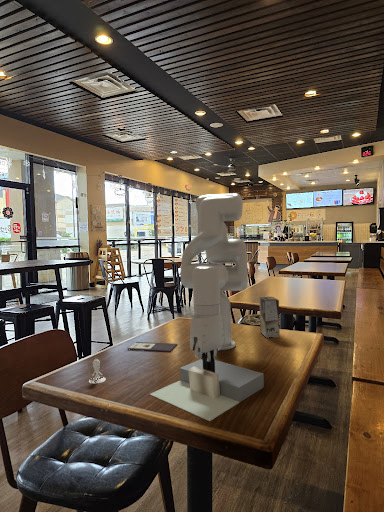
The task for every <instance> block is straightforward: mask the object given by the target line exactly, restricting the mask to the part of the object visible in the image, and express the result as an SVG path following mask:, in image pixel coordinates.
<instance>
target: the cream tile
mask: <svg viewBox="0 0 384 512" xmlns="http://www.w3.org/2000/svg"><path fill="white" fill-rule="evenodd" d="M188 374H189V382H190V390H193V391H196V392H198V393H201V394H204V395H206V396H209V397H211V398H214V399H215V398H216V397H218V396H219V395H220V386H219V377H218V374H217V373H214V372H211V371H208V370H204V369H201V368H198V367H195V366H193V367H192V368H190V369H188Z"/></svg>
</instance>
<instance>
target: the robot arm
mask: <svg viewBox="0 0 384 512" xmlns="http://www.w3.org/2000/svg"><path fill="white" fill-rule="evenodd" d="M243 202H244V201H243V198H242V196H241V195H240V193H236V192H235V193H215V194H211V193H210V194H203V195H200V196H198V197H197V198H196V200H195V208H196V211H197V214H198V217H197V219H198V220H197V222H198V224H197V234H196V236H195V237H194V238H192V240H190V241H189V243H188V244H187V245H186V246H185V248H184V250H183V253H182V255H181V264H180V282H181V284H182V286H183V287H185V288H187V289H192V295H193V297H192V298H193V315H192V316H191V322H190V328H189V330H190V331H189V333H190V334H189V348H190V351H194V355H193V356H194V358H197V359H201V360H203V369H204V370H208V371H211V372H214V373H215V360H217V355H218V352H219V351H227V350H230V349H231V350H232V349H233V348H235V347H236V342H235V341H234V340H233V339H232V322H231V321H232V320H231V302H230V299H229V297H228V296H227V295H226V294H225V292H226V291H227V292H229V291H230V292H235V291H236V292H237V291H240V292H241V291H244V290H246V289H247V287H248V283H249V281H248V280H249V275H248V273H249V271H248V251H247V244H246V242H245V241H244V240H243V239H240V238H228V230H227V229H228V228H227V225H226V223H225V222H233V221H234V222H236V221H240V220H241V218H242V215H243V208H244V207H243V206H244V205H243V204H244V203H243ZM203 252H205V254H206V259H207V261H208V262H203V263H202V262H200V263H199V262H198V263H194V262H193V259H194V258H195V257H196V256H197V255H199V254H200V253H203ZM192 262H193V263H192ZM224 264H234V265H235V266H225V265H224Z"/></svg>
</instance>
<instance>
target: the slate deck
mask: <svg viewBox="0 0 384 512" xmlns="http://www.w3.org/2000/svg"><path fill="white" fill-rule="evenodd" d="M193 366H195V367H198V368H201V369H203V360H201V358H199V359H198V360H196V361H193V362H191V363H189V364H186V365H183V366H181V367H179V380H181V381H184V382H187V383H189V384H190V382H189V374H188V369H190V368H192V367H193ZM215 373H217V374H218V377H219V386H220V395H222V396H225V397H227V398H230V399H233V400H236V401H238V402H239V403H241V402H243V401H245V400H246V399H248V398H249V397H251V396H252V395H254V394H255V393H257V392H259V391H260V390H262V389H263V388H265V380H264V379H265V377H264V374H265V373H263V372H260V371H256V370H253V369H249V368H245V367H241V366H237V365H235V364H232V363H227V362H224V361H221V360H217V359H215ZM239 403H238V404H239Z"/></svg>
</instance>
